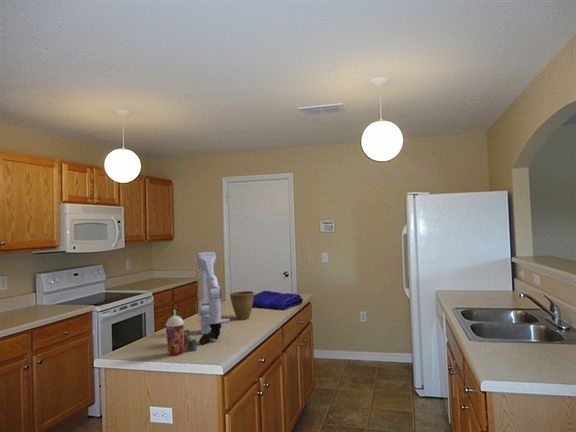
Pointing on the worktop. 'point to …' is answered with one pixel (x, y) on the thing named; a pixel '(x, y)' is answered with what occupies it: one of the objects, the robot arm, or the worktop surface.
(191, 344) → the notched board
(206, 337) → the bolt
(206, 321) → the robot arm
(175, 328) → the smoothie
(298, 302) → the towel
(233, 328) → the worktop surface
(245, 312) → the plant pot
